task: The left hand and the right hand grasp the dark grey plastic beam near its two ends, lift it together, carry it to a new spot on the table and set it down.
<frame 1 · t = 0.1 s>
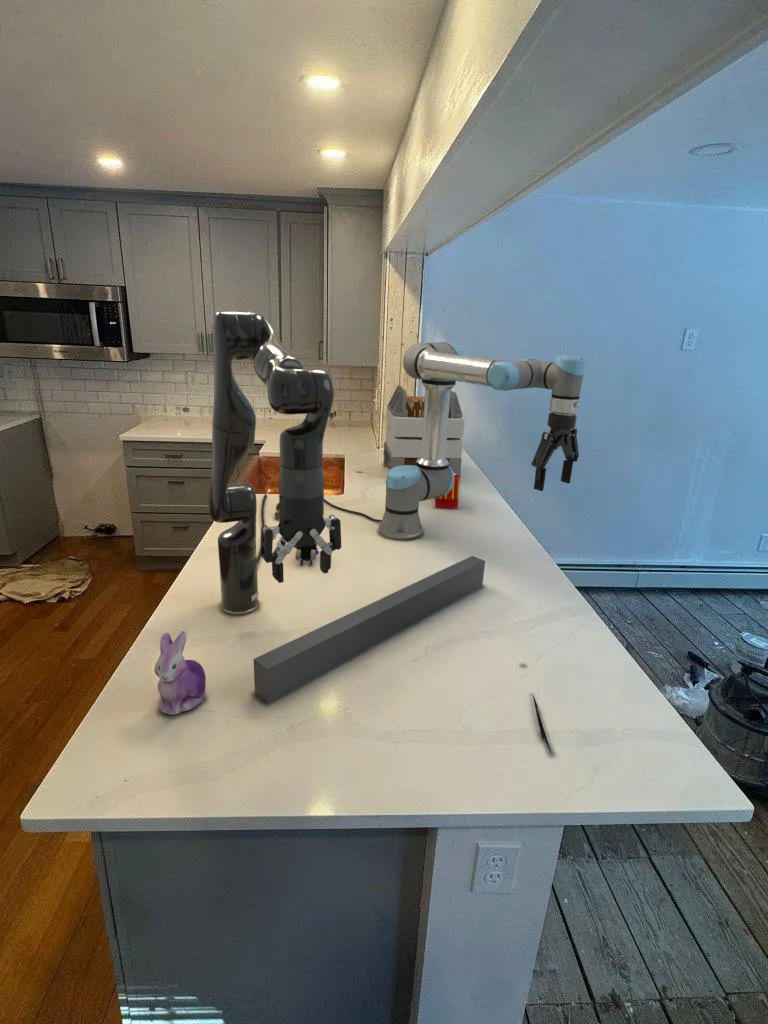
left hand: (302, 576, 101), 29 cm above the counter, tool pointing down, fingers open, 8 cm apart
right hand: (552, 486, 166), 28 cm above the counter, tool pointing down, fingers open, 13 cm apart
figurine: (183, 701, 112), on the counter
figurine character: (308, 558, 177), on the counter
fossil: (293, 511, 216), on the counter
feather: (534, 706, 115), on the counter
beam: (388, 630, 140), on the counter
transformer: (419, 473, 275), on the counter
toy: (441, 497, 240), on the counter
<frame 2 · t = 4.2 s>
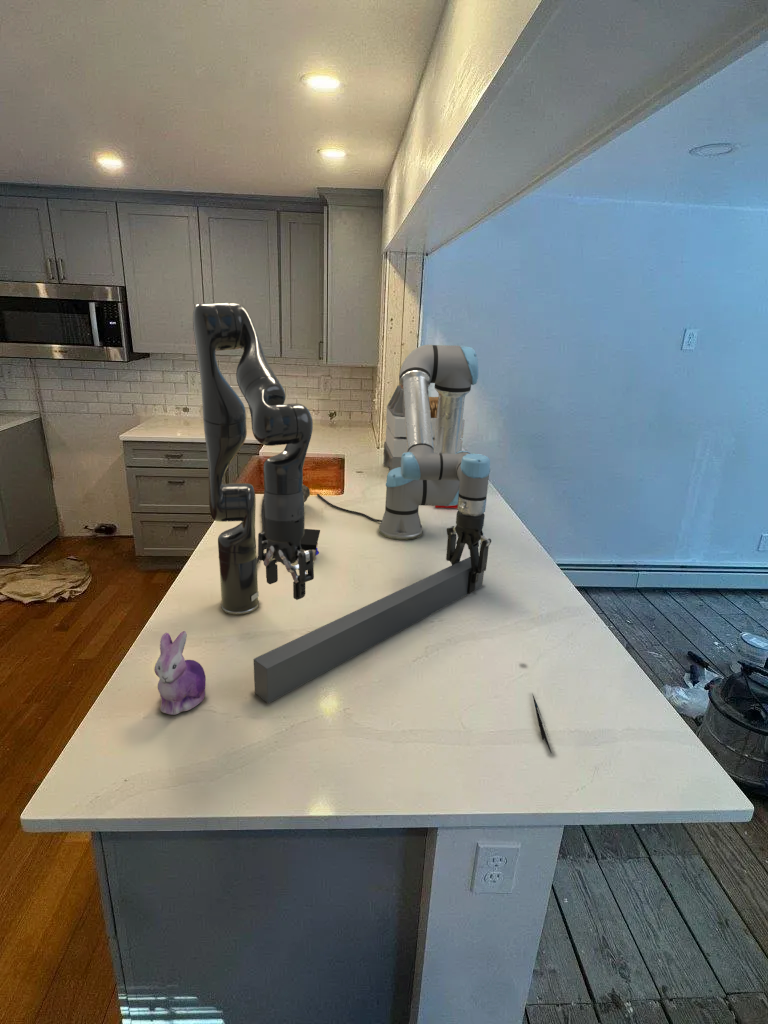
left hand: (285, 590, 111), 22 cm above the counter, tool pointing down, fingers open, 8 cm apart
right hand: (463, 588, 161), 1 cm above the counter, tool pointing down, fingers closed on beam, 5 cm apart
beam: (388, 630, 140), on the counter, touching right hand
everything else where it was.
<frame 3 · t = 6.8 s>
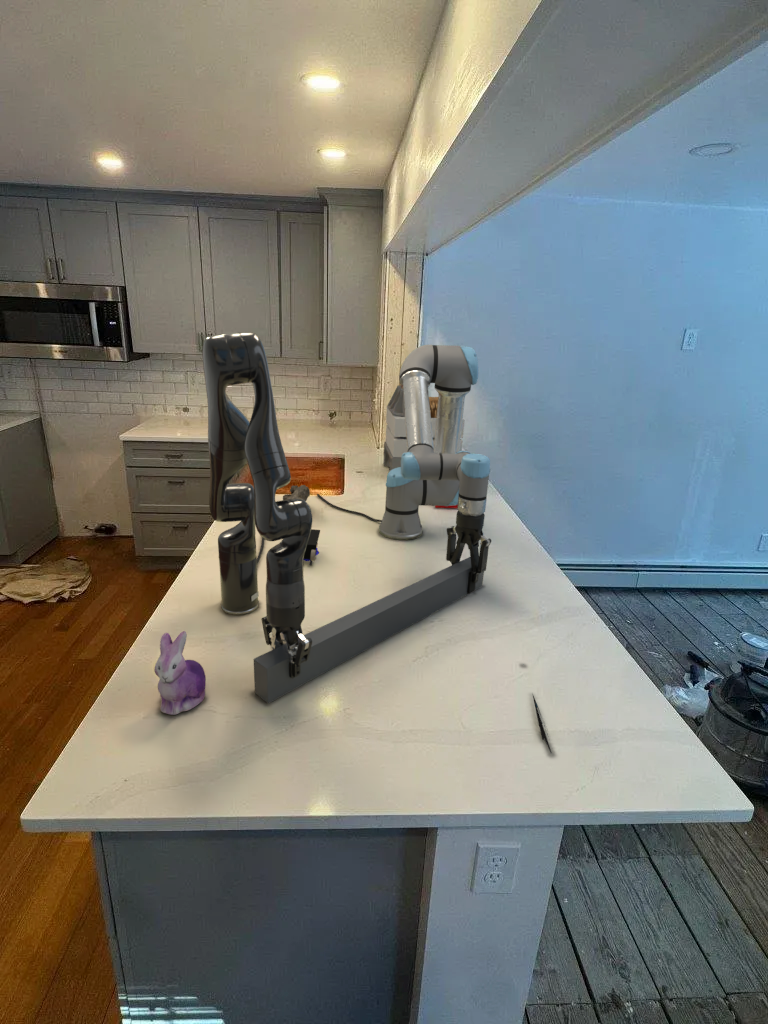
left hand: (286, 670, 117), 4 cm above the counter, tool pointing down, fingers closed on beam, 4 cm apart
right hand: (463, 588, 161), 1 cm above the counter, tool pointing down, fingers closed on beam, 5 cm apart
beam: (388, 630, 140), on the counter, touching right hand, left hand
everything else where it was.
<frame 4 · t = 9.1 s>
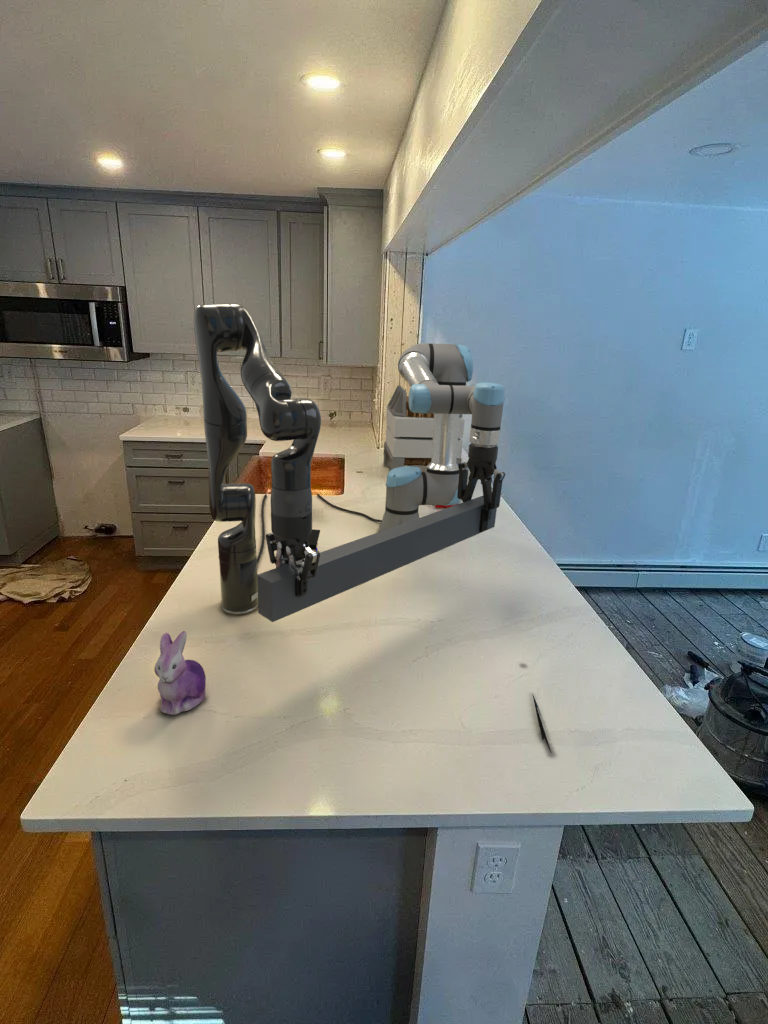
left hand: (292, 590, 110), 22 cm above the counter, tool pointing down, fingers closed on beam, 4 cm apart
right hand: (475, 527, 155), 19 cm above the counter, tool pointing down, fingers closed on beam, 5 cm apart
beam: (398, 562, 133), point 19 cm above the counter, touching right hand, left hand
everything else where it was.
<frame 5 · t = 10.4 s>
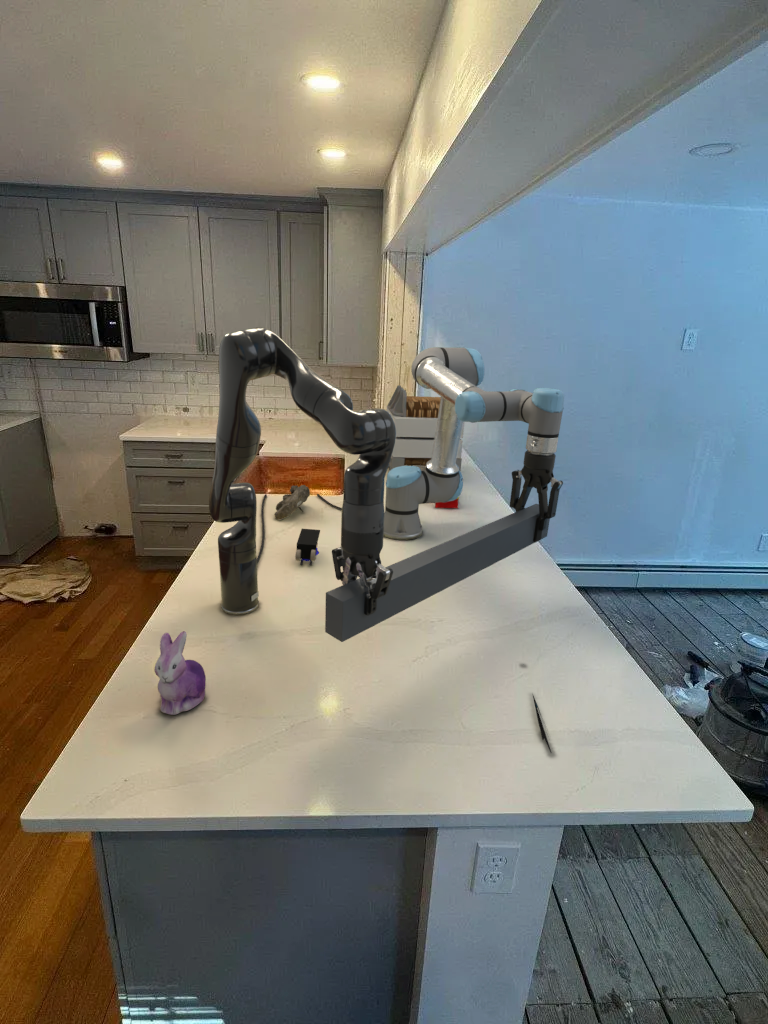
left hand: (359, 607, 106), 22 cm above the counter, tool pointing down, fingers closed on beam, 4 cm apart
right hand: (528, 537, 150), 19 cm above the counter, tool pointing down, fingers closed on beam, 5 cm apart
beam: (457, 575, 128), point 19 cm above the counter, touching right hand, left hand
everything else where it was.
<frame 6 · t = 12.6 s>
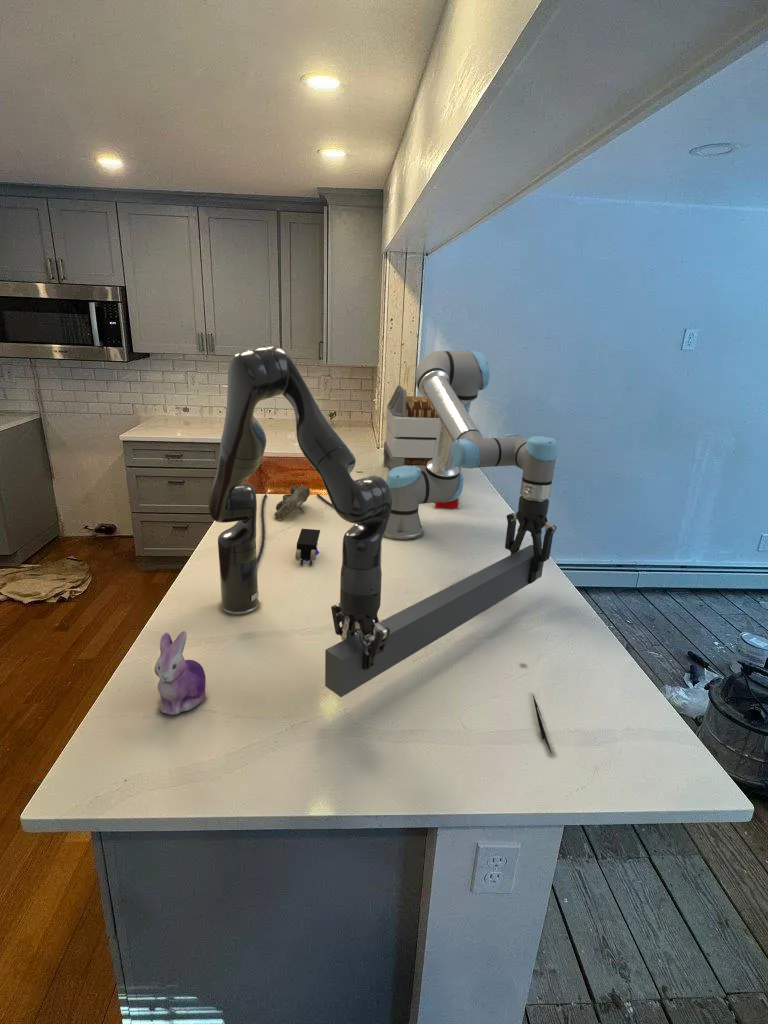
left hand: (358, 662, 110), 10 cm above the counter, tool pointing down, fingers closed on beam, 4 cm apart
right hand: (522, 578, 154), 7 cm above the counter, tool pointing down, fingers closed on beam, 5 cm apart
beam: (453, 621, 133), point 7 cm above the counter, touching right hand, left hand
everything else where it was.
when the right hand's fingers open (1 cm above the counter, at t = 14.1 s): beam stays where it is, on the counter.
when the left hand's fingers open (4 cm above the counter, at t = 14.2 s): beam stays where it is, on the counter.
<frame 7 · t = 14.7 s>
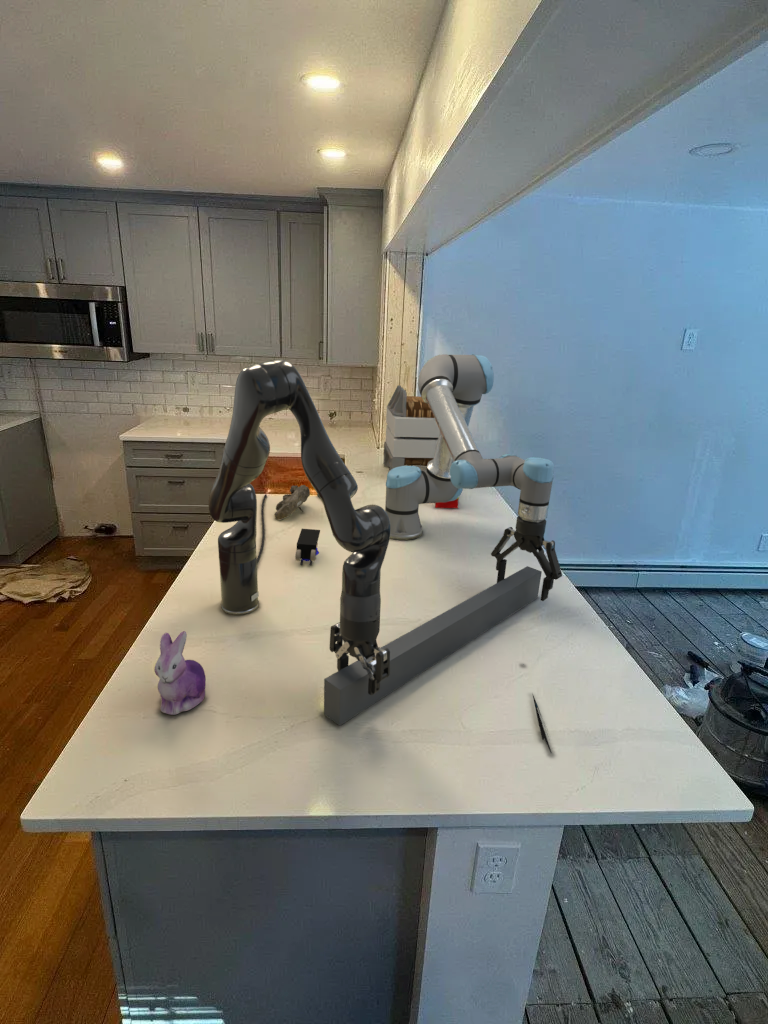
left hand: (357, 682, 111), 5 cm above the counter, tool pointing down, fingers open, 8 cm apart
right hand: (521, 590, 155), 4 cm above the counter, tool pointing down, fingers open, 13 cm apart
beam: (450, 645, 135), on the counter
everything else where it was.
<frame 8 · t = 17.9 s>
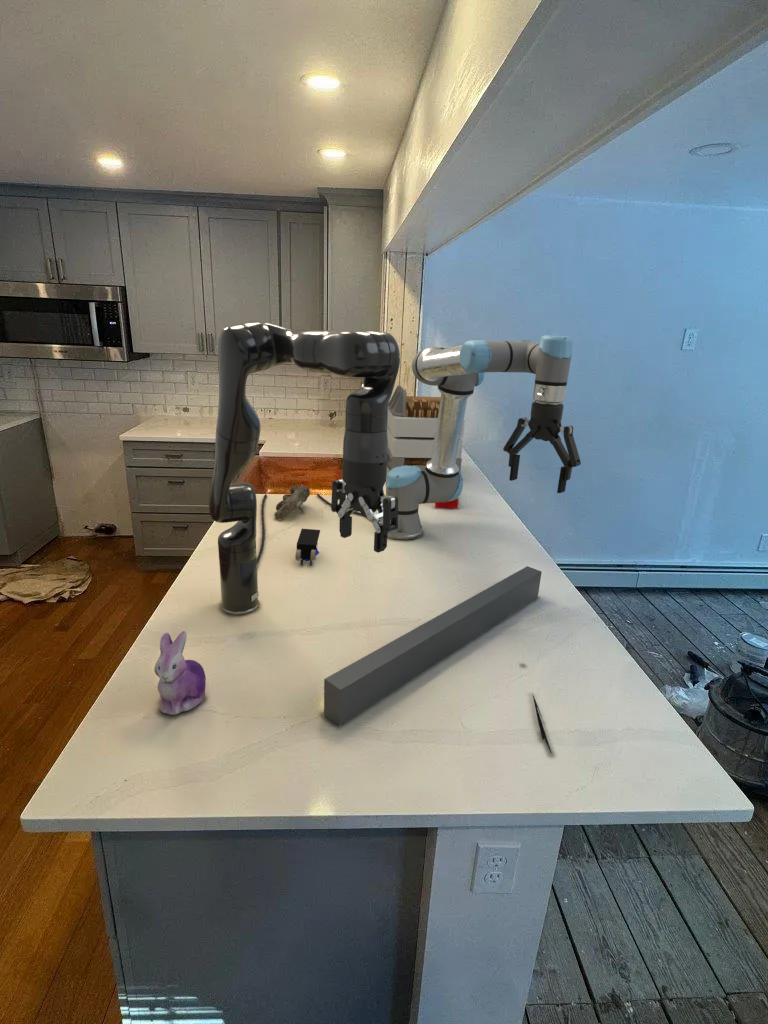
left hand: (362, 543, 101), 35 cm above the counter, tool pointing down, fingers open, 8 cm apart
right hand: (536, 485, 145), 34 cm above the counter, tool pointing down, fingers open, 13 cm apart
nothing on the counter moved.
at the end: beam inside the target area (0.4 cm from its centre), on the counter; beam tilted 0°; beam never tilted more than 2° during the clip; both hands held the beam at the same time; the left hand is holding nothing; the right hand is holding nothing; beam at rest at the end (0.0 cm/s) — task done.
